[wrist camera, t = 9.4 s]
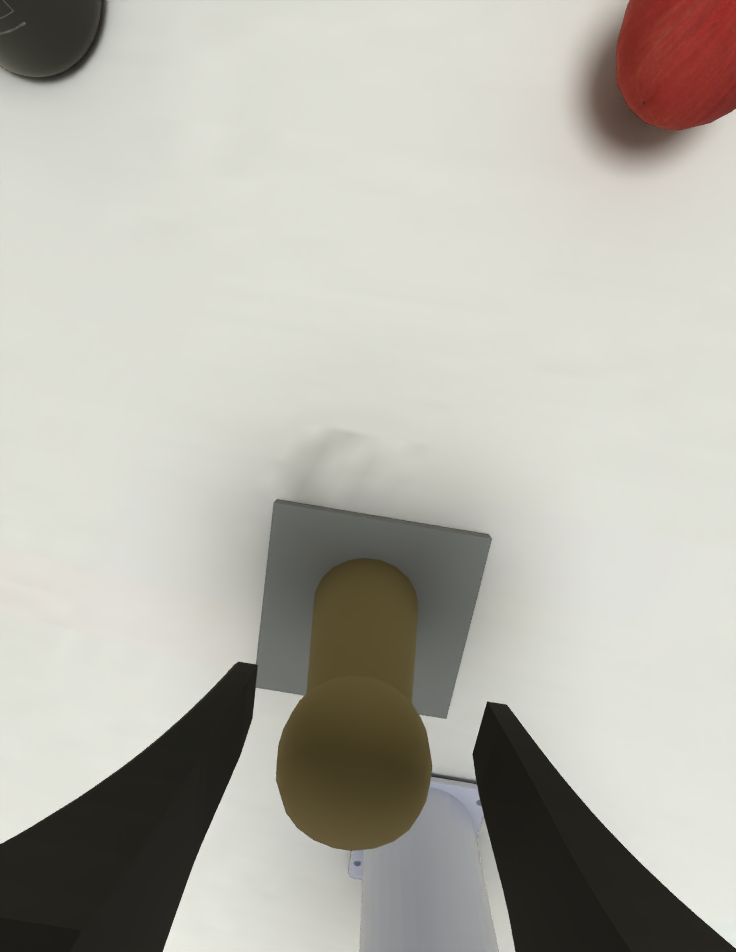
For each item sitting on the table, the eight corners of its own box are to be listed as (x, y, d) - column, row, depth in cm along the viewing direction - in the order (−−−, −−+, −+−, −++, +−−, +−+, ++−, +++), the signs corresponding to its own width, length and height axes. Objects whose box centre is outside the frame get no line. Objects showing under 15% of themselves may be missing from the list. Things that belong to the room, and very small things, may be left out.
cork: (293, 616, 22) (212, 827, 12) (351, 537, 21) (320, 692, 10) (378, 669, 23) (375, 915, 12) (439, 595, 22) (495, 798, 11)
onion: (681, -25, 16) (975, -427, 8) (739, 110, 17) (1050, -129, 9) (553, 76, 17) (705, -195, 9) (615, 199, 18) (800, 52, 10)
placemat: (444, 710, 24) (446, 718, 24) (256, 679, 24) (253, 686, 24) (488, 534, 21) (491, 538, 21) (276, 499, 21) (273, 502, 21)
